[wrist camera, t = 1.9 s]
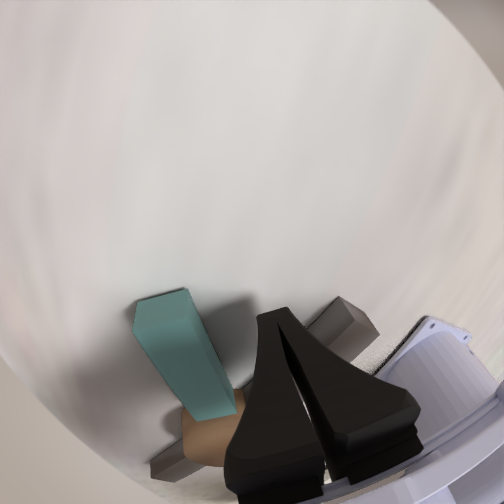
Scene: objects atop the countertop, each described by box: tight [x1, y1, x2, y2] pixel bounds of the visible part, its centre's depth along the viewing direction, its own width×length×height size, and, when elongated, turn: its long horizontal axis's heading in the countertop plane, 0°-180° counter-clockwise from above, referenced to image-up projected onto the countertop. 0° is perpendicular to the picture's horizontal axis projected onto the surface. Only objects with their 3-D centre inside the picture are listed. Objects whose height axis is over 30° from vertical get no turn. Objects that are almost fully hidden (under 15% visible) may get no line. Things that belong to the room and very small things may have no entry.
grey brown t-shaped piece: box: [150, 297, 380, 482], centre depth 20 cm, size 16×24×3 cm, turn 142°
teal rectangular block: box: [132, 289, 237, 421], centre depth 14 cm, size 8×2×2 cm, turn 12°
